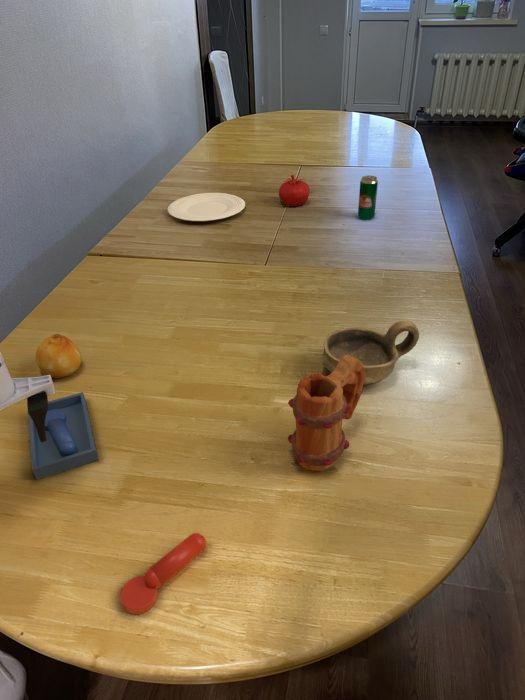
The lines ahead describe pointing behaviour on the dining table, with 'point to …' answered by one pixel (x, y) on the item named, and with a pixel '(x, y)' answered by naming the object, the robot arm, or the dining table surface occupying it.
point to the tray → (79, 426)
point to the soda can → (367, 197)
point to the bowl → (370, 348)
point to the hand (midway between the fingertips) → (13, 445)
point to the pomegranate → (294, 192)
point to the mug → (325, 413)
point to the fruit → (58, 356)
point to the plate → (206, 207)
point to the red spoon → (160, 575)
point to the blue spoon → (60, 431)
